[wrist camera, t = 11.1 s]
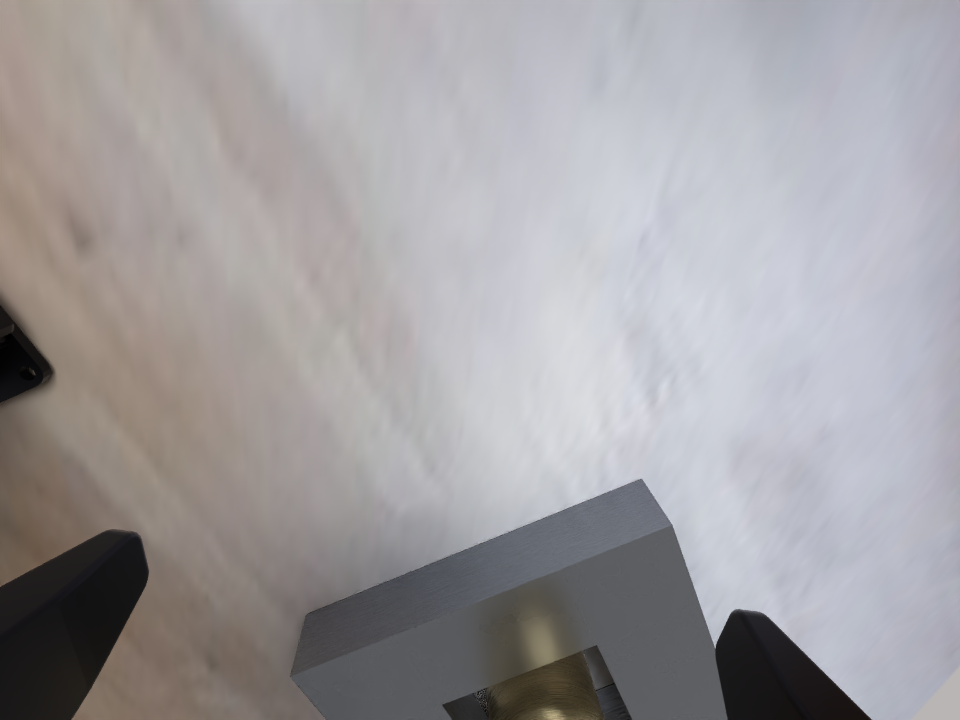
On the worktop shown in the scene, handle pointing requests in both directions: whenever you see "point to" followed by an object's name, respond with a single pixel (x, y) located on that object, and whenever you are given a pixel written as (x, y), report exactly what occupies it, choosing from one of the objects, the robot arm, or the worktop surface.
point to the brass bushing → (547, 693)
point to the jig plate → (523, 622)
